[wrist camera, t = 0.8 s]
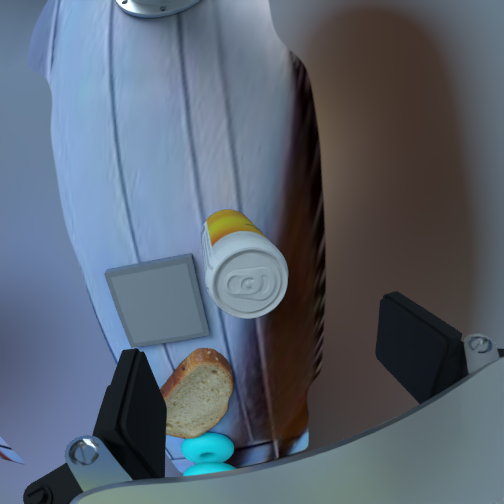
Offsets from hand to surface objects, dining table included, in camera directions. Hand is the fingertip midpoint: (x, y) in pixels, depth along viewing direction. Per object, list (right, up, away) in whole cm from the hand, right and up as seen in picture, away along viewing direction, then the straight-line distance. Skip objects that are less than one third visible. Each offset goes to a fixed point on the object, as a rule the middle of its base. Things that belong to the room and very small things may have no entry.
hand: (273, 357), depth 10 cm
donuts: (-9, -33, +35) cm, 48 cm away
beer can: (-4, +6, +24) cm, 25 cm away
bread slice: (-11, -19, +30) cm, 38 cm away
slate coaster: (-13, -2, +24) cm, 27 cm away
